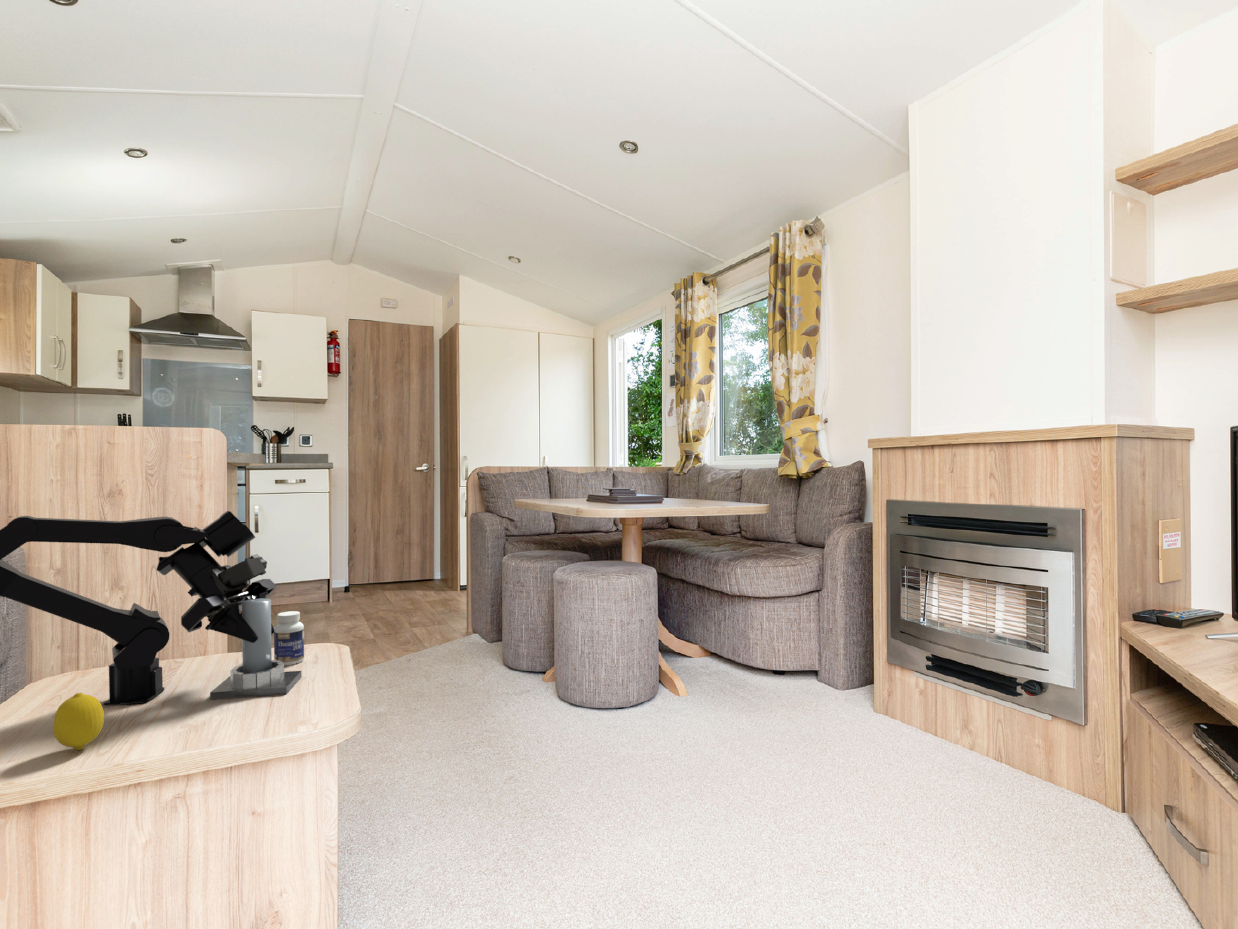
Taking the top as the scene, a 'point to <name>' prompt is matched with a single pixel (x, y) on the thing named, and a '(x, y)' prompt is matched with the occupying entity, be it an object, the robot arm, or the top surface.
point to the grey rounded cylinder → (260, 623)
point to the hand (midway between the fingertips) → (264, 637)
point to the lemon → (78, 721)
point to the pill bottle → (289, 638)
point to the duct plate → (256, 682)
